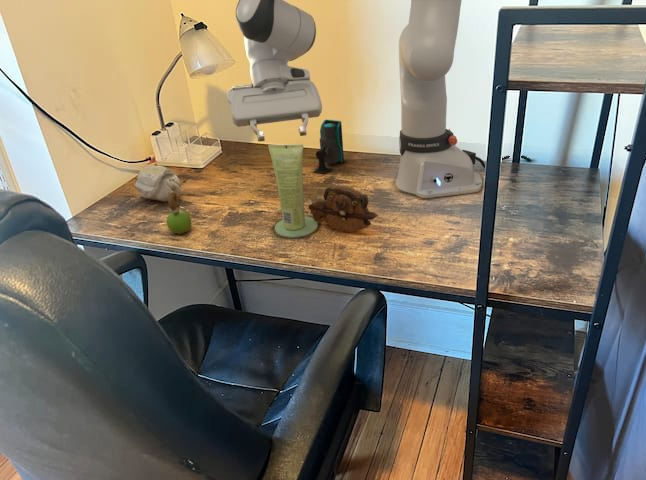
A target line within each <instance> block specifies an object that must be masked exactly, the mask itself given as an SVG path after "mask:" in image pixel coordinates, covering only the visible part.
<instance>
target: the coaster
mask: <svg viewBox="0 0 646 480" xmlns="http://www.w3.org/2000/svg"><path fill="white" fill-rule="evenodd" d="M318 228H319V222H316V221H314V218H313V217H311V216H308V215H307V216H306V215H305V226H304V227H303V228H301V229H298V230H289V229H286V228H285V227H284V223H283V219H281V220H279V221H278V222H277V223H276V224H275V225H274V232H275V233H276V234H277V235H278V236H279V237H282V238H288V239H298V238H304V237H306V236H310V235H311V234H313V233H314V232H316V231H317V229H318Z"/></svg>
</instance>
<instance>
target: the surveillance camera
mask: <svg viewBox="0 0 646 480" xmlns="http://www.w3.org/2000/svg"><path fill="white" fill-rule="evenodd" d="M319 135H320V138H319V149H318V150H317V151H316V152H315V157H316V159H317V160H318V168H316V169H315V170H314V171H313V173H316V174H322V175H326V174H327V173H328V172H330V171H331V170H332V168H330V167H327V166H326V164H336V163H344V162H345V158H344V157H345V156H344V143H343V142H344V141H343V126H342V121H341V120H336V119H335V120H333V119H324V120H323V121H322V123H321V125H320V129H319Z"/></svg>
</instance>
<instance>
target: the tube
mask: <svg viewBox="0 0 646 480" xmlns="http://www.w3.org/2000/svg"><path fill="white" fill-rule="evenodd" d="M267 147H268V151H269V155H270V158H271V162H272V168H273V172H274V176H275V181H276V182H275V183H276V187H277V191H278V192H277V193H278V197H279V204H280V210H281V215H282V220H283V223H284V227H285V228H286V229H289V230H298V229H301V228H303V227H304V226H305V216H306V215H305V214H306V213H305V201H304V177H303V176H304V173H303V172H304V169H303V168H304V167H303V165H304V164H303V163H304V161H303V159H304V157H303V156H304V144H303V143H302V144H268V145H267Z"/></svg>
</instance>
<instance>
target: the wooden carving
mask: <svg viewBox="0 0 646 480" xmlns="http://www.w3.org/2000/svg"><path fill="white" fill-rule="evenodd" d="M322 197H323V199H318V200H317V199H316V200H315V201H313V202H311V203H310V204H309V205H307V206H308V207H307V208H308V209H309V211H310V214H311V215H312V218H313V219H314V221H316V222H317V223H326V225H328V226H329V227H330V228H332V229H333V230H337V231H339V232H347V233H352V232H359V231H363V230H364V229H367V228H369V227H370V226H371V225H372V222H371V221H372V220H374V219H375V218H377V217H379V214H378V213H377V212H374V211H370V210H369V208H368V205H369V196H368V194H367V193H362V192H360V191H359V190H357V189H355V188H353V187H351V186H347V185H339V186H335V187H332V186H331V185H329V186H327V187H326V188H325V190H324V193H323V196H322Z"/></svg>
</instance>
